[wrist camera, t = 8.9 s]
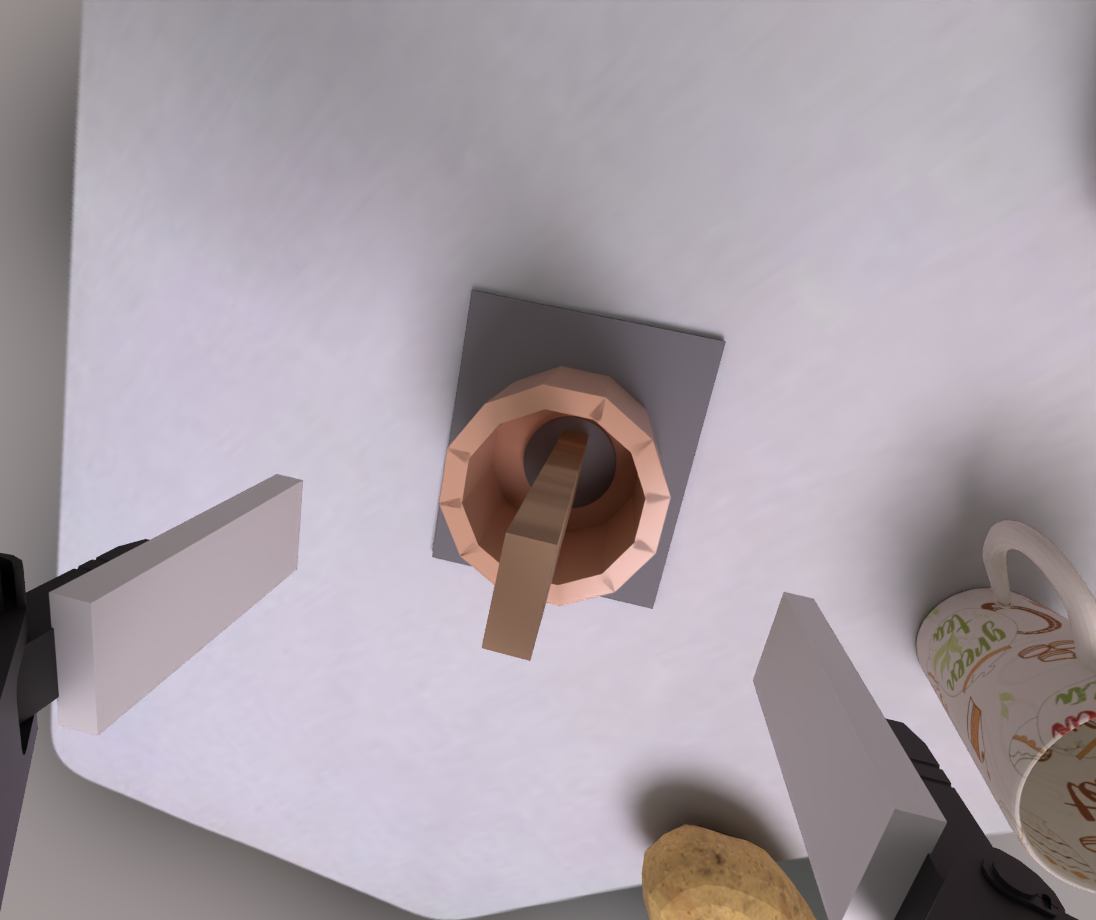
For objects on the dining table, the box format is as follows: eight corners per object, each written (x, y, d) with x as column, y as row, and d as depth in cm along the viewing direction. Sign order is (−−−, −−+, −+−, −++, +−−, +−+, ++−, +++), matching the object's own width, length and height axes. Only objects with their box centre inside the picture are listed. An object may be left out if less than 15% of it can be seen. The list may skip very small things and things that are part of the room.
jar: (495, 352, 28) (459, 366, 22) (676, 389, 28) (692, 415, 21) (468, 519, 31) (428, 575, 24) (634, 557, 30) (637, 624, 24)
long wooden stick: (535, 406, 28) (443, 486, 13) (625, 427, 28) (634, 533, 13) (516, 493, 29) (413, 656, 14) (604, 514, 29) (589, 703, 14)
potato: (699, 766, 33) (716, 868, 27) (835, 884, 34) (880, 1007, 28) (617, 828, 35) (616, 937, 29) (748, 938, 36) (774, 1065, 30)
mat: (473, 290, 28) (471, 290, 28) (724, 341, 27) (725, 341, 27) (434, 553, 32) (432, 557, 32) (652, 605, 31) (652, 608, 31)
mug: (909, 726, 31) (1037, 916, 22) (853, 514, 29) (969, 621, 19) (1085, 691, 29) (1308, 880, 20) (1042, 462, 27) (1274, 551, 17)
